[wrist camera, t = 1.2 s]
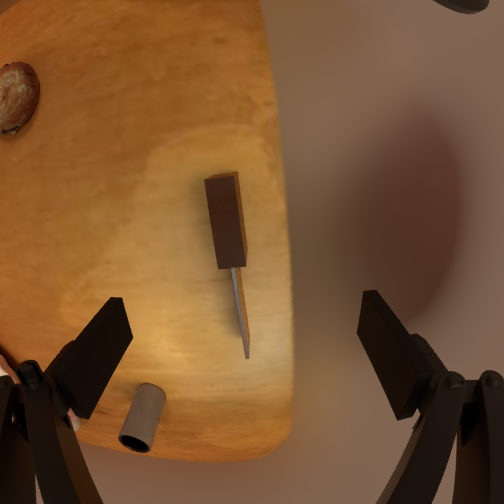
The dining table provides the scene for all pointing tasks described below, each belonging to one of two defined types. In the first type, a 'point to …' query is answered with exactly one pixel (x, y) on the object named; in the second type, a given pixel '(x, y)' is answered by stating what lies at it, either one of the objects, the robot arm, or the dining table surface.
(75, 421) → the ice cream cone
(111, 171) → the dining table surface
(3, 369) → the white rock slab
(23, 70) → the bread roll
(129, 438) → the grey cylinder
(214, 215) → the knife
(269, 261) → the dining table surface
